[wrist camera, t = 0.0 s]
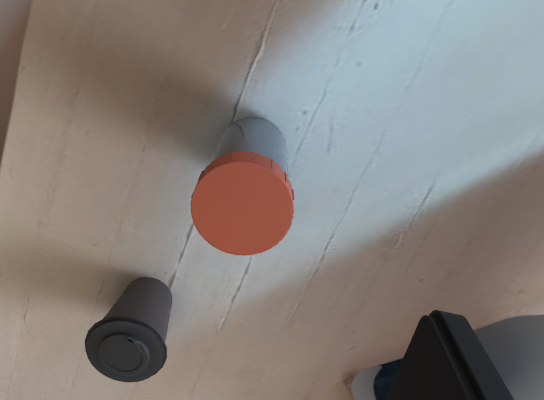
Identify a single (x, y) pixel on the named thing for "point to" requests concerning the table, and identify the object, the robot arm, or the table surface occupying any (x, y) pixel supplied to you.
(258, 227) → the lid
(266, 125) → the thermos
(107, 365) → the coffee cup
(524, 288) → the table surface
